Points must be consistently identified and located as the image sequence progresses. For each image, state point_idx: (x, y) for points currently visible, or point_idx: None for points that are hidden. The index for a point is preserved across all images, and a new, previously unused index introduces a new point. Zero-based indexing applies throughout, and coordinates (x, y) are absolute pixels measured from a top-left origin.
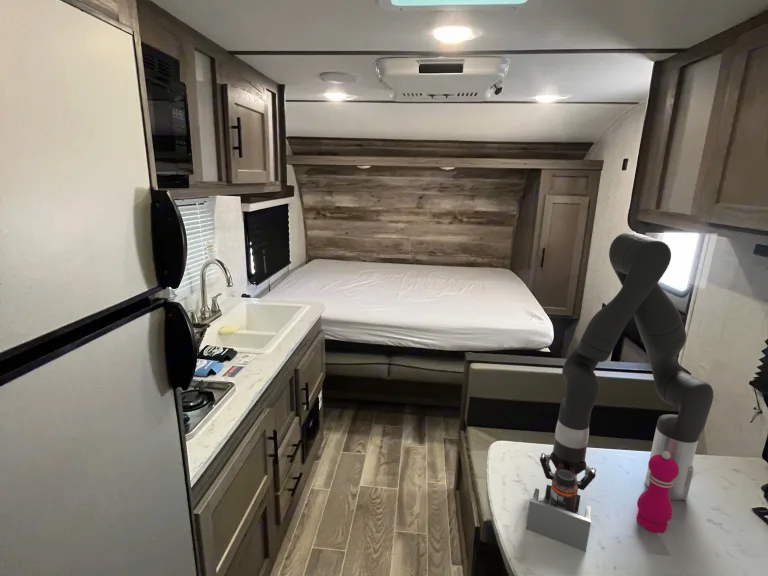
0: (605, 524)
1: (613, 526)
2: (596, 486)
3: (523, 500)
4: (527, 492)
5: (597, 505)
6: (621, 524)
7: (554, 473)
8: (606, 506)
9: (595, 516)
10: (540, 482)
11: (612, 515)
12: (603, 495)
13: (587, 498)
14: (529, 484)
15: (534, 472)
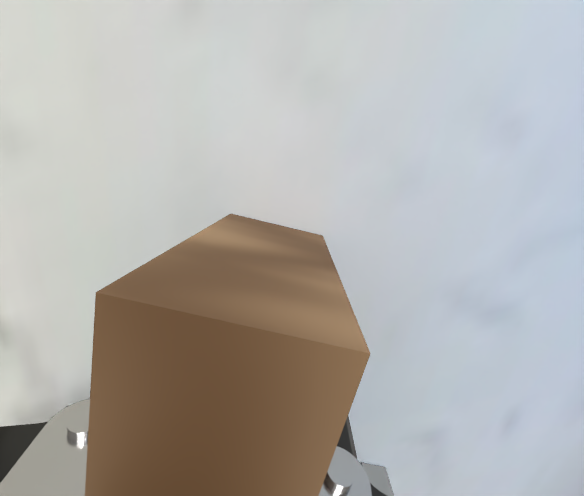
0: (469, 481)
1: (510, 484)
2: (567, 125)
3: (9, 425)
4: (15, 354)
5: (480, 352)
6: (567, 462)
7: (21, 462)
8: (543, 346)
9: (431, 442)
10: (85, 219)
11: (546, 412)
12: (577, 234)
13: (430, 302)
14: (9, 269)
15: (13, 86)
